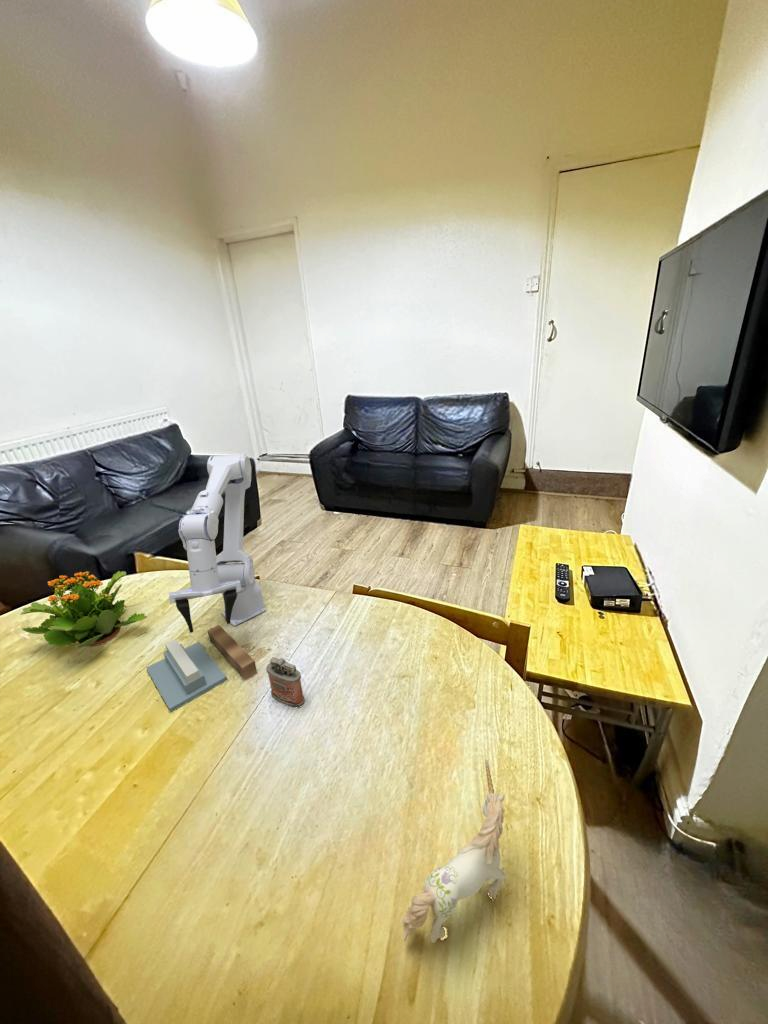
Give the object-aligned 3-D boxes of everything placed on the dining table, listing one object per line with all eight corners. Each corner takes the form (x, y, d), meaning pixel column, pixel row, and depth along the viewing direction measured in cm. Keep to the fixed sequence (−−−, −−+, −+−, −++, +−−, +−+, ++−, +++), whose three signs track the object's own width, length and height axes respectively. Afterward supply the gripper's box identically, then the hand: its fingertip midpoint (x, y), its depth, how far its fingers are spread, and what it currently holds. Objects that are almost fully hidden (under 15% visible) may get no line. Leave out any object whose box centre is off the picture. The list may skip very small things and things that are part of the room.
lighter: (267, 697, 87) (260, 660, 83) (278, 685, 89) (271, 649, 85) (298, 711, 83) (291, 673, 79) (308, 698, 86) (302, 662, 82)
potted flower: (172, 609, 116) (156, 555, 109) (114, 673, 94) (89, 611, 87) (90, 606, 119) (69, 553, 112) (16, 668, 97) (-16, 607, 90)
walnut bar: (210, 643, 103) (207, 630, 101) (221, 637, 105) (218, 624, 103) (245, 681, 91) (242, 668, 90) (257, 674, 93) (254, 660, 91)
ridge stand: (147, 670, 95) (140, 652, 93) (199, 644, 102) (194, 626, 100) (170, 712, 84) (163, 692, 82) (227, 679, 91) (222, 660, 89)
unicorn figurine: (524, 851, 60) (534, 792, 54) (445, 999, 47) (448, 941, 41) (480, 815, 64) (486, 758, 59) (398, 941, 51) (395, 882, 46)
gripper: (166, 579, 83) (174, 641, 85) (240, 566, 90) (246, 625, 92) (165, 570, 90) (173, 629, 92) (235, 559, 96) (241, 614, 98)
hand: (210, 626), depth 92 cm, fingers open, 7 cm apart
